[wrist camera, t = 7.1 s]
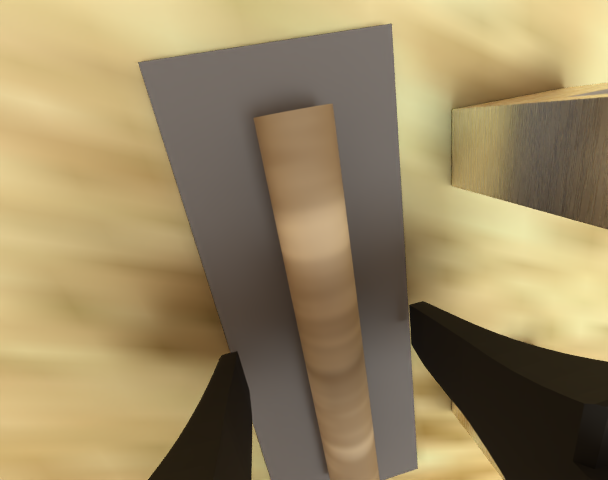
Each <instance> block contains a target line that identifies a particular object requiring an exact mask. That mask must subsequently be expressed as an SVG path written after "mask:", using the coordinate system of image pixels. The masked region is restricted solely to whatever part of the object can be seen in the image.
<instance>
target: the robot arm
mask: <svg viewBox="0 0 608 480" xmlns="http://www.w3.org/2000/svg"><path fill="white" fill-rule="evenodd" d="M409 308H410V326H411V344H412V346H413V348H414V349H415V351H416V353H417V355H418V356H419V358H420V359H421V361H422V363H423V364H424V366H425V367H426V368H427V370H428V371H429V372H430V374H431V375H432V376H433V377H434V379H435V380H436V381H437V382H438V384H439V385H440V386H441V387H442V389H443V390H444V391H445V392H446V394H447V395H448V396H449V397H450V399H451V400H452V401H453V402H454V404H455V405H456V406H457V407H458V409H459V410H460V411H461V412H462V414H463V415H464V416H465V418H466V419H467V420H468V422H469V423H470V425H471V426H472V428H473V429H474V431H475V432H476V434H477V435H478V437H479V438H480V440H481V441H482V443H483V444H484V446H485V447H486V449H487V451H488V452H489V454H490V455H491V457H492V458H493V460H494V462H495V463H496V465H497V466H498V468H499V470H500V471H501V473H502V474H503V476H504V478H505V479H506V480H608V362H606V361H600V360H595V359H589V358H584V357H579V356H574V355H570V354H565V353H561V352H557V351H553V350H549V349H545V348H541V347H537V346H534V345H530V344H527V343H524V342H521V341H518V340H515V339H511V338H508V337H506V336H503V335H500V334H497V333H495V332H492V331H490V330H487V329H484V328H482V327H480V326H477V325H475V324H472V323H470V322H468V321H466V320H463V319H461V318H459V317H457V316H454V315H452V314H450V313H448V312H446V311H444V310H441V309H439V308H437V307H435V306H433V305H431V304H428V303H426V302H423V301H422V302H418V303H415V304H411V305H409ZM251 468H252V409H251V399H250V390H249V387H248V384H247V380H246V377H245V374H244V371H243V367H242V364H241V361H240V358H239V355H238V351H236V352H232V353H228V354H225V355H222V356H221V357H220V359H219V361H218V364H217V366H216V368H215V371H214V373H213V375H212V377H211V380H210V382H209V384H208V386H207V388H206V390H205V392H204V394H203V396H202V398H201V400H200V402H199V404H198V406H197V407H196V409H195V411H194V413H193V415H192V416H191V418H190V420H189V422H188V423H187V425H186V427H185V428H184V430H183V432H182V433H181V435H180V436H179V438H178V439H177V441H176V442H175V444H174V445H173V447H172V448H171V450H170V451H169V453H168V454H167V455H166V457H165V458H164V459H163V461H162V462H161V464H160V465H159V466H158V467H157V469H156V470H155V471H154V473H153V474H152V475H151V477H150V478H149V479H148V480H251Z"/></svg>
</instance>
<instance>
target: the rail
mask: <svg viewBox="0 0 608 480" xmlns="http://www.w3.org/2000/svg"><path fill="white" fill-rule="evenodd" d="M253 119H254V123H255V128H256V133H257V137H258V142H259V147H260V152H261V156H262V161H263V166H264V170H265V175H266V180H267V185H268V189H269V194H270V199H271V204H272V208H273V213H274V218H275V222H276V227H277V232H278V237H279V241H280V246H281V251H282V255H283V260H284V265H285V270H286V274H287V279H288V284H289V288H290V293H291V298H292V303H293V307H294V312H295V317H296V321H297V326H298V331H299V336H300V340H301V345H302V350H303V354H304V359H305V364H306V369H307V373H308V378H309V383H310V387H311V392H312V397H313V402H314V406H315V411H316V416H317V420H318V425H319V430H320V435H321V439H322V444H323V449H324V453H325V458H326V463H327V468H328V472H329V477H330V480H380V479H379V471H378V463H377V455H376V447H375V439H374V431H373V423H372V415H371V407H370V399H369V391H368V383H367V375H366V367H365V359H364V351H363V342H362V334H361V326H360V318H359V310H358V302H357V294H356V286H355V278H354V270H353V262H352V254H351V246H350V238H349V230H348V222H347V214H346V206H345V198H344V190H343V182H342V174H341V166H340V158H339V150H338V142H337V134H336V126H335V118H334V110H333V104H326V105H320V106H314V107H308V108H302V109H297V110H291V111H286V112H280V113H275V114H270V115H265V116H260V117H255V118H253Z"/></svg>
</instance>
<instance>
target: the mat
mask: <svg viewBox="0 0 608 480" xmlns="http://www.w3.org/2000/svg"><path fill="white" fill-rule="evenodd" d="M138 64H139V67H140V70H141V73H142V76H143V79H144V82H145V86H146V89H147V92H148V95H149V98H150V101H151V104H152V108H153V111H154V114H155V117H156V120H157V123H158V126H159V130H160V133H161V136H162V139H163V142H164V145H165V148H166V152H167V155H168V158H169V161H170V164H171V167H172V170H173V174H174V177H175V180H176V183H177V186H178V189H179V192H180V195H181V199H182V202H183V205H184V208H185V211H186V214H187V217H188V221H189V224H190V227H191V230H192V233H193V236H194V239H195V243H196V246H197V249H198V252H199V255H200V258H201V261H202V265H203V268H204V271H205V274H206V277H207V280H208V283H209V287H210V290H211V293H212V296H213V299H214V302H215V305H216V309H217V312H218V315H219V318H220V321H221V324H222V327H223V331H224V334H225V337H226V340H227V343H228V346H229V349H230V352H231V353H232V352H236V351H238V355H239V358H240V361H241V364H242V367H243V371H244V374H245V377H246V380H247V384H248V387H249V390H250V399H251V409H252V422H253V425H254V428H255V431H256V434H257V437H258V440H259V444H260V447H261V450H262V453H263V456H264V459H265V462H266V466H267V469H268V472H269V475H270V478H271V480H330V477H329V472H328V468H327V463H326V458H325V453H324V449H323V444H322V439H321V435H320V430H319V425H318V420H317V416H316V411H315V406H314V402H313V397H312V392H311V387H310V383H309V378H308V373H307V369H306V364H305V359H304V354H303V350H302V345H301V340H300V336H299V331H298V326H297V321H296V317H295V312H294V307H293V303H292V298H291V293H290V288H289V284H288V279H287V274H286V270H285V265H284V260H283V255H282V251H281V246H280V241H279V237H278V232H277V227H276V222H275V218H274V213H273V208H272V204H271V199H270V194H269V189H268V185H267V180H266V175H265V170H264V166H263V161H262V156H261V152H260V147H259V142H258V137H257V133H256V128H255V123H254V119H253V118H255V117H260V116H265V115H270V114H275V113H280V112H286V111H291V110H297V109H302V108H308V107H314V106H320V105H326V104H333V110H334V118H335V126H336V134H337V142H338V150H339V158H340V166H341V174H342V182H343V190H344V198H345V206H346V214H347V222H348V230H349V238H350V246H351V254H352V262H353V270H354V278H355V286H356V294H357V302H358V310H359V318H360V326H361V334H362V342H363V351H364V359H365V367H366V375H367V383H368V391H369V399H370V407H371V415H372V423H373V431H374V439H375V447H376V455H377V463H378V471H379V479H380V480H385V479H388V478H391V477H394V476H397V475H400V474H403V473H406V472H409V471H412V470H415V469H418V466H417V449H416V432H415V415H414V398H413V381H412V364H411V347H410V329H409V312H408V295H407V278H406V261H405V244H404V227H403V210H402V192H401V175H400V158H399V141H398V124H397V107H396V90H395V73H394V55H393V38H392V24H386V25H380V26H373V27H367V28H360V29H354V30H347V31H341V32H334V33H327V34H321V35H314V36H308V37H301V38H295V39H288V40H282V41H275V42H268V43H262V44H255V45H249V46H242V47H236V48H229V49H223V50H216V51H209V52H203V53H196V54H190V55H183V56H177V57H170V58H164V59H157V60H150V61H144V62H138Z"/></svg>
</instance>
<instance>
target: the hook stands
mask: <svg viewBox="0 0 608 480" xmlns="http://www.w3.org/2000/svg"><path fill="white" fill-rule="evenodd" d="M452 186H454V187H457V188H461V189H464V190H468V191H472V192H475V193H479V194H482V195H486V196H490V197H493V198H497V199H500V200H504V201H508V202H511V203H515V204H518V205H522V206H526V207H529V208H533V209H536V210H540V211H544V212H547V213H551V214H554V215H558V216H562V217H565V218H569V219H572V220H576V221H580V222H583V223H587V224H590V225H594V226H598V227H601V228H605V229H608V83H600V84H592V85H584V86H575V87H567V88H561V89H556V90H551V91H545V92H540V93H535V94H530V95H525V96H519V97H514V98H509V99H504V100H499V101H493V102H488V103H483V104H478V105H472V106H467V107H462V108H457V109H452ZM452 412H453V413H454V415H455V416H456V417H457V419H458V420H459V421H460V423H461V424H462V425H463V427H464V428H465V429H466V431H467V432H468V433H469V435H470V436H471V437H472V439H473V440H474V441H475V443H476V444H477V445H478V447H479V448H480V449H481V451H482V452H483V453H484V455H485V456H486V457H487V459H488V460H489V461H490V463H491V464H492V465H493V467H494V468H495V469H496V471H497V472H498V473H499V475H500V476H501V477H502V479H503V480H506V479H505V478H504V476H503V474H502V473H501V471H500V470H499V468H498V466H497V465H496V463H495V462H494V460H493V458H492V457H491V455H490V454H489V452H488V451H487V449H486V447H485V446H484V444H483V443H482V441H481V440H480V438H479V437H478V435H477V434H476V432H475V431H474V429H473V428H472V426H471V425H470V423H469V422H468V420H467V419H466V418H465V416H464V415H463V414H462V412H461V411H460V410H459V409H458V407H457V406H456V405H455V404H454V402H453V401H452Z"/></svg>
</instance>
